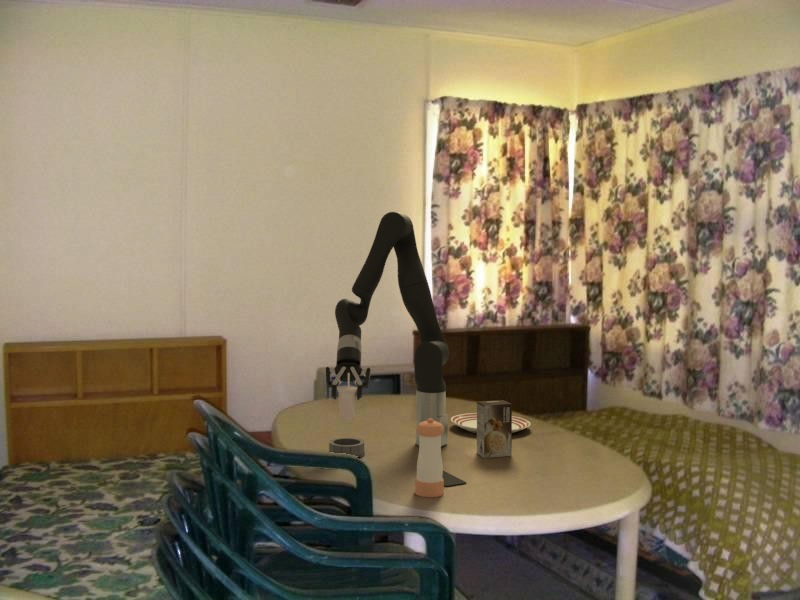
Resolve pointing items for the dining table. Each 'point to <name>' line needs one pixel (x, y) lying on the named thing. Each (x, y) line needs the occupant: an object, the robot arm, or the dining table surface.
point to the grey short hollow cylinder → (347, 446)
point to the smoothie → (347, 400)
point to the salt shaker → (429, 460)
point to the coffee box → (494, 428)
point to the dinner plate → (470, 422)
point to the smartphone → (451, 480)
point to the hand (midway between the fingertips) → (346, 397)
